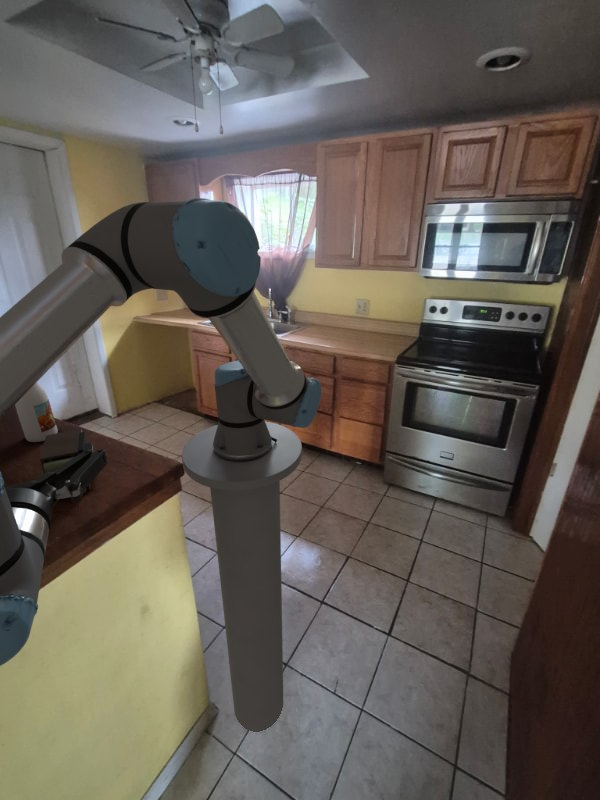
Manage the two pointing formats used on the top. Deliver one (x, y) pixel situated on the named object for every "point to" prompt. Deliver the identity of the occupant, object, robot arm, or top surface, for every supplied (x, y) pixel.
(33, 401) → the milk bottle
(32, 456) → the top surface
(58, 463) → the drawer
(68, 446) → the cabinet
